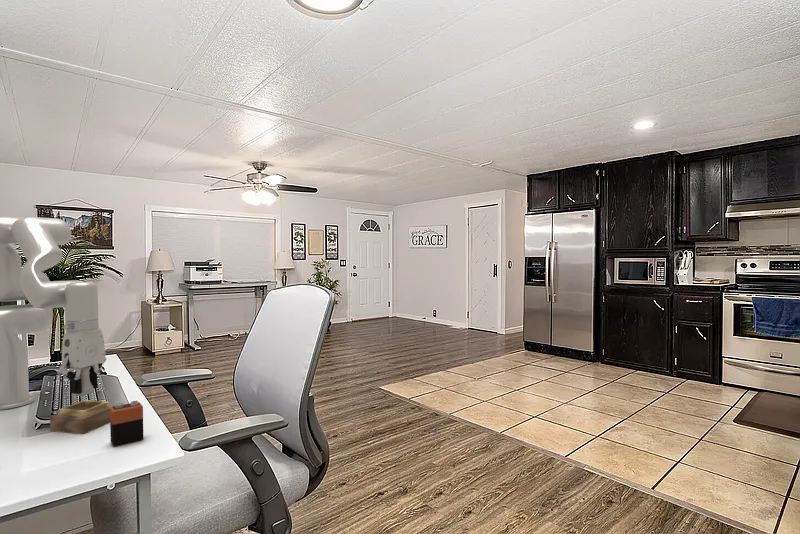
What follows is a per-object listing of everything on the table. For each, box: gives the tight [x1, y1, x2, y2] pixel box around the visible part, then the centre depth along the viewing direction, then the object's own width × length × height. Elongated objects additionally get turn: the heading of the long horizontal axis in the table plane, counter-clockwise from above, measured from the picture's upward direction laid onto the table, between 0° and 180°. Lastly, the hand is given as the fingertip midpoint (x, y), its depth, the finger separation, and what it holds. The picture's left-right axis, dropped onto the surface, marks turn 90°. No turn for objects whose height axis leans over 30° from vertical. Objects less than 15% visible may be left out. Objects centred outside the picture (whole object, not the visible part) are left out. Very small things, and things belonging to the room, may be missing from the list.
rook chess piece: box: [75, 367, 94, 396], centre depth 128 cm, size 4×4×8 cm
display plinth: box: [49, 399, 114, 435], centre depth 128 cm, size 11×11×6 cm
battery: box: [109, 400, 144, 447], centre depth 117 cm, size 4×7×10 cm, turn 130°
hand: (84, 390), depth 128 cm, fingers closed on rook chess piece, 4 cm apart
